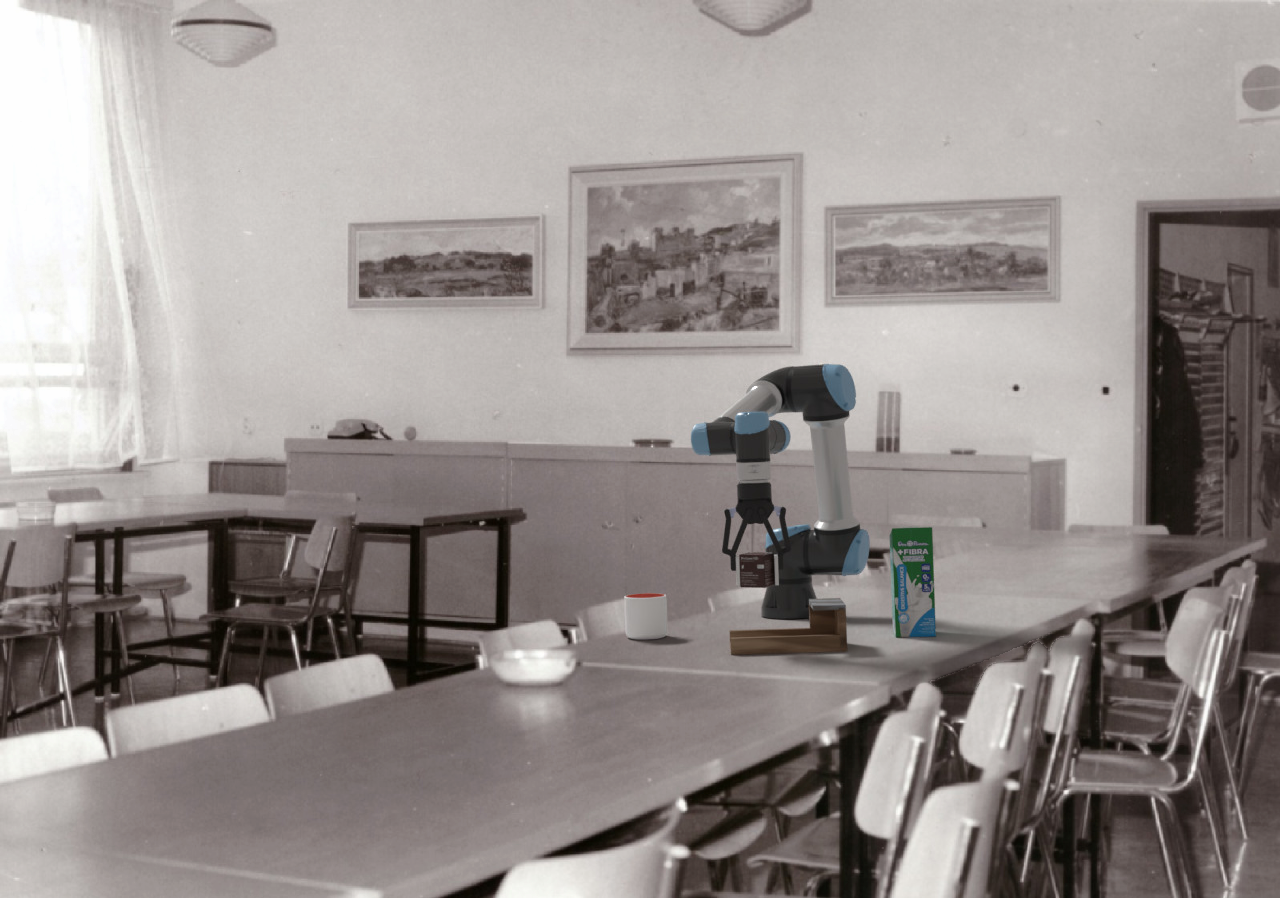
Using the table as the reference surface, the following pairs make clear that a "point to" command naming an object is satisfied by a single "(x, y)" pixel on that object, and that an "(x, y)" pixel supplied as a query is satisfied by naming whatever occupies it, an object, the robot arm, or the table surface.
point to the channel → (798, 633)
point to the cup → (646, 616)
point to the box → (756, 569)
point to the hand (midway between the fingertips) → (757, 584)
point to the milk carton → (912, 582)
